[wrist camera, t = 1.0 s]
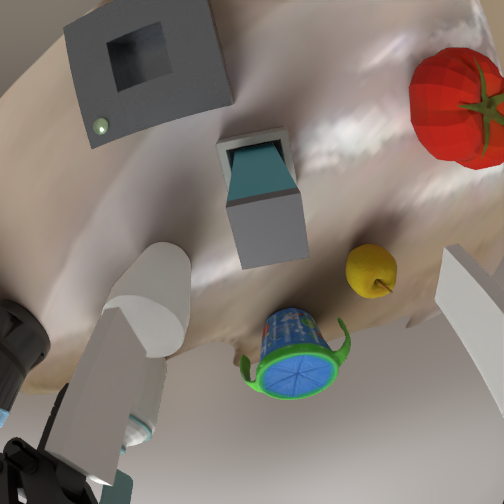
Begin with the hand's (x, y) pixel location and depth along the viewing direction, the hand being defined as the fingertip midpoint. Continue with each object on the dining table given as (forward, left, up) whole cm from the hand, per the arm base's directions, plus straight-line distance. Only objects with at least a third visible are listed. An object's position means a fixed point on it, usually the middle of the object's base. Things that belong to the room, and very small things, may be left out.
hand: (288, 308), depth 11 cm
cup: (-14, -10, -24) cm, 29 cm away
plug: (0, 0, -23) cm, 23 cm away
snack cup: (0, -24, -24) cm, 34 cm away
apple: (+11, -14, -24) cm, 29 cm away
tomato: (+23, +5, -24) cm, 33 cm away
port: (-8, +14, -23) cm, 28 cm away
